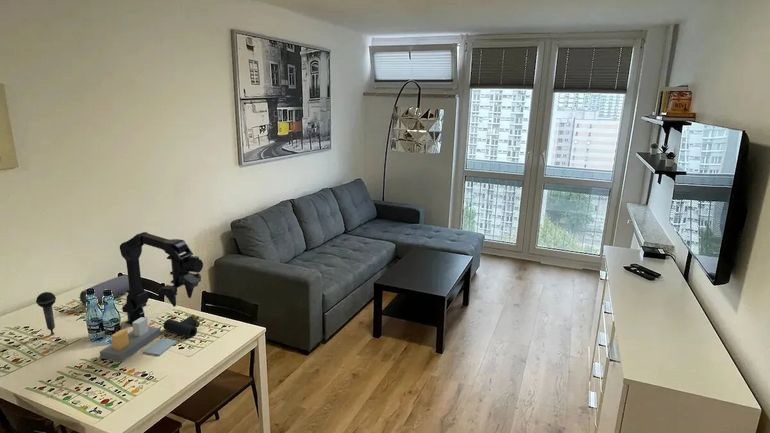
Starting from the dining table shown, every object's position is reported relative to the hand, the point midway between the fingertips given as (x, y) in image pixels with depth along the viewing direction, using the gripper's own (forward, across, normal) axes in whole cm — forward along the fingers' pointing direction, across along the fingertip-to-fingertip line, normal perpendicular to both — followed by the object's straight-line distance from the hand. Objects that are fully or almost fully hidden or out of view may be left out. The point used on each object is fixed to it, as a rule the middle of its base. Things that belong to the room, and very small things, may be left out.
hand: (182, 302), depth 194 cm
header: (+14, -17, +12) cm, 25 cm away
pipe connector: (+15, +1, 0) cm, 15 cm away
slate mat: (+14, -14, 0) cm, 20 cm away
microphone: (+15, -22, +50) cm, 57 cm away
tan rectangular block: (+14, -23, +11) cm, 29 cm away
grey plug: (+14, -12, +12) cm, 22 cm away
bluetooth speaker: (+15, +12, +58) cm, 61 cm away
